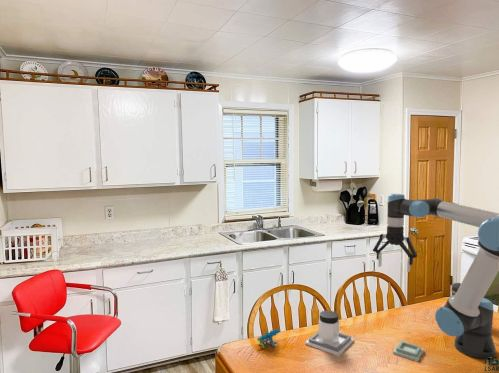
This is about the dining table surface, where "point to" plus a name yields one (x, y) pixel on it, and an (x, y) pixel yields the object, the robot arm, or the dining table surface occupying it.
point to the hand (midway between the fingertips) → (394, 268)
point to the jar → (328, 327)
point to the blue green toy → (268, 335)
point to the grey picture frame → (334, 349)
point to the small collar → (408, 350)
